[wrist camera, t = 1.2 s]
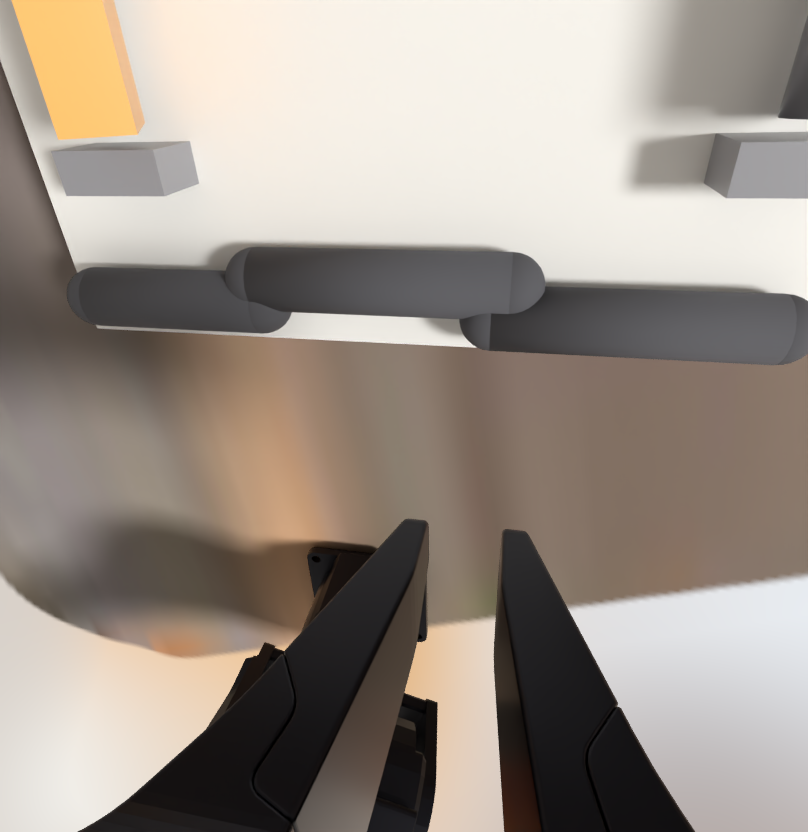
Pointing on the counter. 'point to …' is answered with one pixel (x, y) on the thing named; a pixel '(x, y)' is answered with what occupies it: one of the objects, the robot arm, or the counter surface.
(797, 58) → the paddle grey
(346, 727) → the robot arm
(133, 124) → the orange brick
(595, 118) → the white tray
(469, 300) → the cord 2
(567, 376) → the counter surface
